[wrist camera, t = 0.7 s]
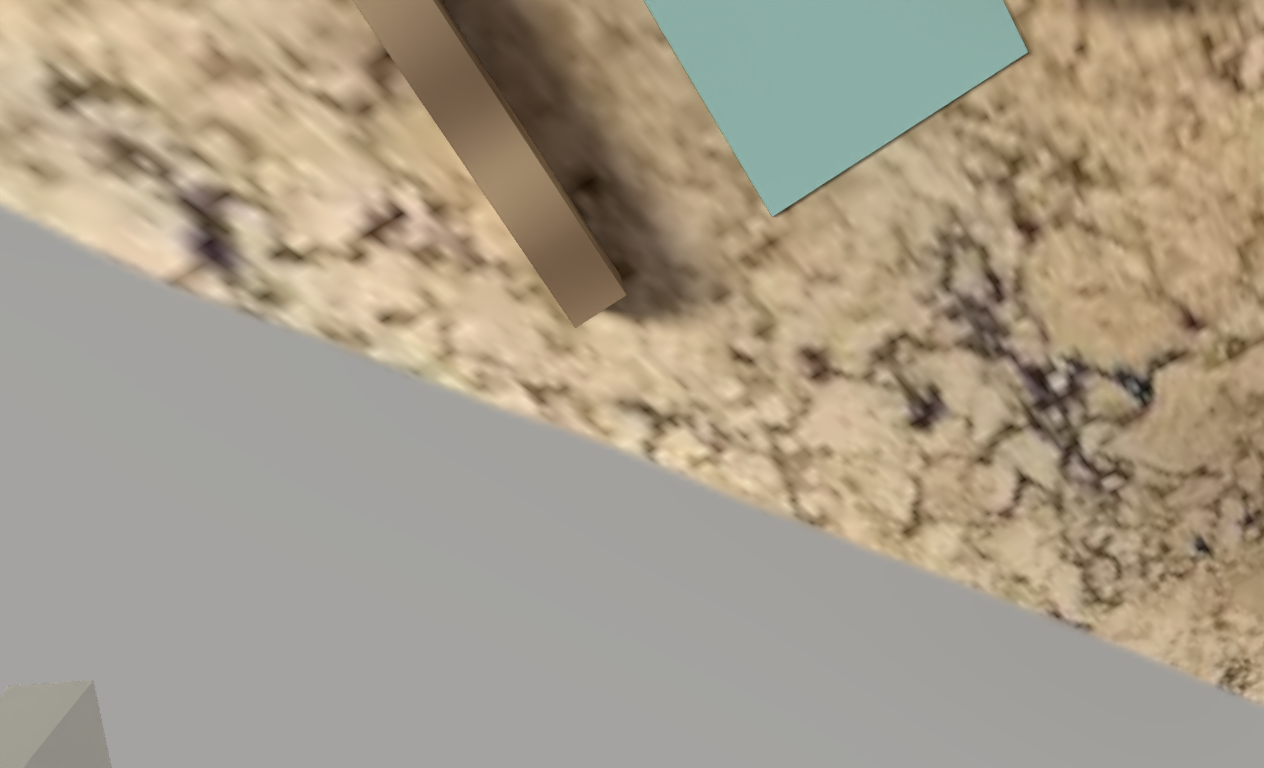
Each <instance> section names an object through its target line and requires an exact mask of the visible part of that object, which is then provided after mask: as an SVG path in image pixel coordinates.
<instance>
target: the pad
mask: <svg viewBox="0 0 1264 768" xmlns="http://www.w3.org/2000/svg"><path fill="white" fill-rule="evenodd" d="M644 2H645V4H646V5H647V7H648V9H649V11H650V12H651V14H652V16H653V17H654V19H655V21H656V22H657V24H658V26H659V27H660V29H661V31H662V32H663V34H664V36H665V37H666V39H667V41H668V43H669V44H670V46H671V48H672V49H673V51H674V53H675V54H676V56H677V58H678V59H679V61H680V63H681V64H682V66H683V68H684V70H685V71H686V73H687V75H688V76H689V78H690V80H691V81H692V83H693V85H694V86H695V88H696V90H697V91H698V93H699V95H700V97H701V98H702V100H703V102H704V103H705V105H706V107H707V108H708V110H709V112H710V113H711V115H712V117H713V118H714V120H715V122H716V123H717V125H718V127H719V129H720V130H721V132H722V134H723V135H724V137H725V139H726V140H727V142H728V144H729V145H730V147H731V149H732V150H733V152H734V154H735V156H736V157H737V159H738V161H739V162H740V164H741V166H742V167H743V169H744V171H745V172H746V174H747V176H748V177H749V179H750V181H751V182H752V184H753V186H754V188H755V189H756V191H757V193H758V194H759V196H760V198H761V199H762V201H763V203H764V204H765V206H766V208H767V209H768V211H769V213H770V215H771V216H772V217H773V216H774V215H776V214H777V213H779V212H781V211H782V210H784V209H785V208H787V207H788V206H790V205H791V204H793V203H795V202H796V201H798V200H799V199H801V198H802V197H804V196H805V195H807V194H809V193H810V192H812V191H813V190H815V189H816V188H818V187H819V186H821V185H822V184H824V183H826V182H827V181H829V180H830V179H832V178H833V177H835V176H836V175H838V174H840V173H841V172H843V171H844V170H846V169H847V168H849V167H850V166H852V165H854V164H855V163H857V162H858V161H860V160H861V159H863V158H864V157H866V156H868V155H869V154H871V153H872V152H874V151H875V150H877V149H878V148H880V147H882V146H883V145H885V144H886V143H888V142H889V141H891V140H892V139H894V138H896V137H897V136H899V135H900V134H902V133H903V132H905V131H906V130H908V129H910V128H911V127H913V126H914V125H916V124H917V123H919V122H920V121H922V120H923V119H925V118H927V117H928V116H930V115H931V114H933V113H934V112H936V111H937V110H939V109H941V108H942V107H944V106H945V105H947V104H948V103H950V102H951V101H953V100H955V99H956V98H958V97H959V96H961V95H962V94H964V93H965V92H967V91H969V90H970V89H972V88H973V87H975V86H976V85H978V84H979V83H981V82H983V81H984V80H986V79H987V78H989V77H990V76H992V75H993V74H995V73H997V72H998V71H1000V70H1001V69H1003V68H1004V67H1006V66H1007V65H1009V64H1010V63H1012V62H1014V61H1015V60H1017V59H1018V58H1020V57H1021V56H1023V55H1024V54H1026V53H1028V51H1027V49H1026V46H1025V44H1024V42H1023V40H1022V38H1021V36H1020V34H1019V32H1018V30H1017V28H1016V26H1015V24H1014V22H1013V20H1012V18H1011V16H1010V14H1009V12H1008V9H1007V7H1006V5H1005V3H1004V1H1003V0H644Z"/></svg>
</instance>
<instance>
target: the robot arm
mask: <svg viewBox="0 0 1264 768" xmlns="http://www.w3.org/2000/svg"><path fill="white" fill-rule="evenodd" d="M0 768H112V767H111V763H110V758H109V753H108V748H107V744H106V738H105V734H104V729H103V724H102V720H101V714H100V711H99V705H98V700H97V695H96V691H95V686H94V681H93V680H90V681H76V682H75V681H74V682H59V683H44V684H30V685H13V686H9V687H8V688H7V689H6V690H5V691H4V692H3V693H2V694H1V695H0Z"/></svg>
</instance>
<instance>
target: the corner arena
mask: <svg viewBox="0 0 1264 768" xmlns="http://www.w3.org/2000/svg"><path fill="white" fill-rule="evenodd" d="M353 2H354V3H355V5H356V6H357V8H358V9H359V11H360V12H361V14H362V15H363V17H364V18H365V20H366V21H367V22H368V24H369V25H370V27H371V28H372V30H373V31H374V33H375V34H376V36H377V37H378V39H379V40H380V42H381V43H382V45H383V46H384V47H385V49H386V50H387V52H388V53H389V55H390V56H391V58H392V59H393V61H394V62H395V64H396V65H397V67H398V68H399V70H400V71H401V72H402V74H403V75H404V77H405V78H406V80H407V81H408V83H409V84H410V86H411V87H412V89H413V90H414V92H415V93H416V95H417V96H418V98H419V99H420V100H421V102H422V103H423V105H424V106H425V108H426V109H427V111H428V112H429V114H430V115H431V117H432V118H433V120H434V121H435V123H436V124H437V125H438V127H439V128H440V130H441V131H442V133H443V134H444V136H445V137H446V139H447V140H448V142H449V143H450V145H451V146H452V148H453V149H454V150H455V152H456V153H457V155H458V156H459V158H460V159H461V161H462V162H463V164H464V165H465V167H466V168H467V170H468V171H469V173H470V174H471V175H472V177H473V178H474V180H475V181H476V183H477V184H478V186H479V187H480V189H481V190H482V192H483V193H484V195H485V196H486V198H487V199H488V200H489V202H490V203H491V205H492V206H493V208H494V209H495V211H496V212H497V214H498V215H499V217H500V218H501V220H502V221H503V223H504V224H505V225H506V227H507V228H508V230H509V231H510V233H511V234H512V236H513V237H514V239H515V240H516V242H517V243H518V245H519V246H520V248H521V249H522V250H523V252H524V253H525V255H526V256H527V258H528V259H529V261H530V262H531V264H532V265H533V267H534V268H535V270H536V271H537V273H538V274H539V276H540V277H541V278H542V280H543V281H544V283H545V284H546V286H547V287H548V289H549V290H550V292H551V293H552V295H553V296H554V298H555V299H556V301H557V302H558V303H559V305H560V306H561V308H562V309H563V311H564V312H565V314H566V315H567V317H568V318H569V320H570V321H571V323H572V324H573V326H574V327H575V328H576V327H578V326H580V325H581V324H583V323H584V322H586V321H587V320H589V319H590V318H592V317H593V316H595V315H597V314H598V313H600V312H601V311H603V310H604V309H606V308H607V307H609V306H611V305H612V304H614V303H615V302H617V301H618V300H620V299H621V298H623V297H624V296H626V292H625V289H624V286H623V283H622V280H621V277H620V274H619V272H618V271H617V269H616V268H615V266H614V265H613V263H612V262H611V260H610V258H609V257H608V255H607V254H606V252H605V251H604V249H603V248H602V246H601V245H600V243H599V242H598V240H597V239H596V237H595V236H594V234H593V232H592V231H591V229H590V228H589V226H588V225H587V223H586V222H585V220H584V219H583V217H582V216H581V214H580V213H579V211H578V209H577V208H576V206H575V205H574V203H573V202H572V200H571V199H570V197H569V196H568V194H567V193H566V191H565V190H564V188H563V187H562V185H561V183H560V182H559V180H558V179H557V177H556V176H555V174H554V173H553V171H552V170H551V168H550V167H549V165H548V164H547V162H546V161H545V159H544V157H543V156H542V154H541V153H540V151H539V150H538V148H537V147H536V145H535V144H534V142H533V141H532V139H531V138H530V136H529V135H528V133H527V131H526V130H525V128H524V127H523V125H522V124H521V122H520V121H519V119H518V118H517V116H516V115H515V113H514V112H513V110H512V108H511V107H510V105H509V104H508V102H507V101H506V99H505V98H504V96H503V95H502V93H501V92H500V90H499V89H498V87H497V86H496V84H495V82H494V81H493V79H492V78H491V76H490V75H489V73H488V72H487V70H486V69H485V67H484V66H483V64H482V63H481V61H480V60H479V58H478V56H477V55H476V53H475V52H474V50H473V49H472V47H471V46H470V44H469V43H468V41H467V40H466V38H465V37H464V35H463V34H462V32H461V30H460V29H459V27H458V26H457V24H456V23H455V21H454V20H453V18H452V17H451V15H450V14H449V12H448V11H447V9H446V7H445V6H444V4H443V3H442V1H441V0H353Z"/></svg>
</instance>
